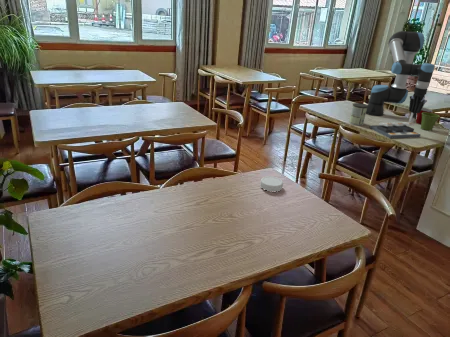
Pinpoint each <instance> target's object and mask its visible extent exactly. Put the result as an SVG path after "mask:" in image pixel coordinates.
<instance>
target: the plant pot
mask: <svg viewBox="0 0 450 337" xmlns="http://www.w3.org/2000/svg"><path fill="white" fill-rule="evenodd" d="M440 117H441V116H440V115H439V114H436V113H433V112H431V113H426V112H424V113H422V122H421V124H420V129H421V130H424V131H428V132H429V131H432V129H433V128H434V126H435V124H436V123H437V121H438V120H439V118H440Z"/></svg>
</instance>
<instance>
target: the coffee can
mask: <svg viewBox="0 0 450 337" xmlns="http://www.w3.org/2000/svg"><path fill="white" fill-rule="evenodd" d="M367 105H368V104H365V103H360V102H359V103H357V102H353V103H352V108H351V112H350V117H349V121H348V123H349V124H351V125H353V126H364V123H365V117H366V115H367V114H366V110H367V107H368V106H367Z"/></svg>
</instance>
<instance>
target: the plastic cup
mask: <svg viewBox="0 0 450 337" xmlns="http://www.w3.org/2000/svg"><path fill="white" fill-rule="evenodd" d="M424 112H426V113H433V110H432V109H429V108H428V107H427V108H426V107H423V108H422V110H421V111H420V113H417V115H416V117H415V124H418V125H421V122H422V113H424Z"/></svg>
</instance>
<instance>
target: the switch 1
mask: <svg viewBox="0 0 450 337" xmlns="http://www.w3.org/2000/svg"><path fill="white" fill-rule="evenodd" d="M391 123H392V122H379V123H378V125H382V126H393V124H391Z"/></svg>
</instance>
